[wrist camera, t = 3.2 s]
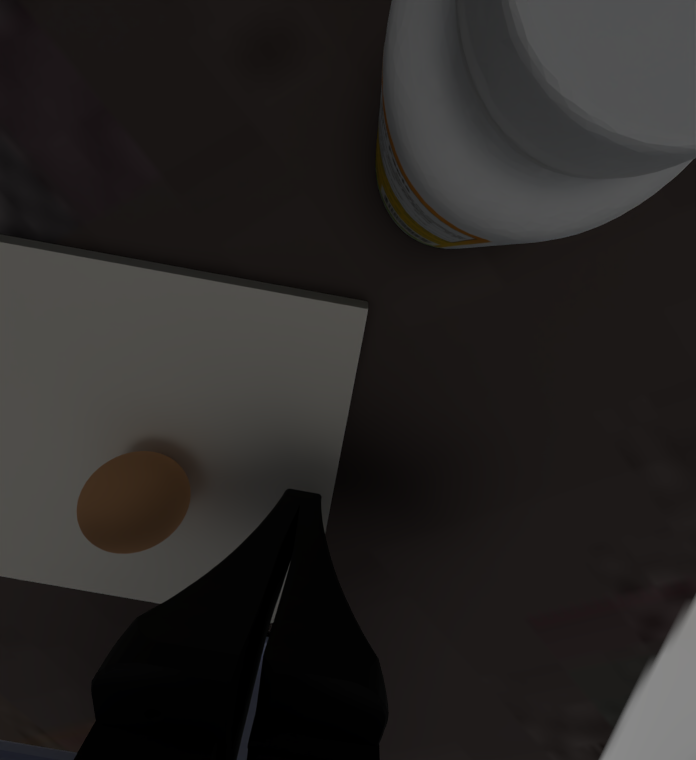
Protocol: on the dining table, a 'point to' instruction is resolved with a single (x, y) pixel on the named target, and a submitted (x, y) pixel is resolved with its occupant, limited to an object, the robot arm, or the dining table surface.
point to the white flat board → (160, 406)
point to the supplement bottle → (531, 115)
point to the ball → (133, 502)
